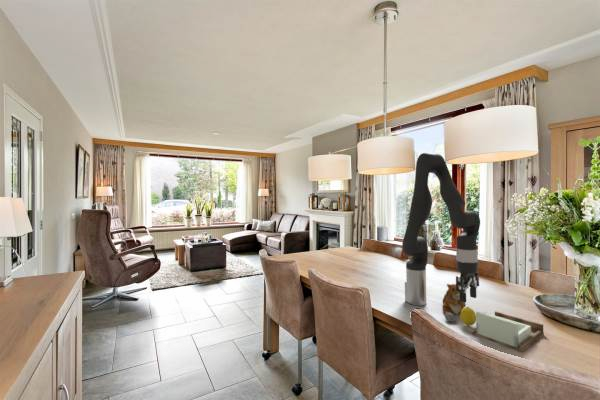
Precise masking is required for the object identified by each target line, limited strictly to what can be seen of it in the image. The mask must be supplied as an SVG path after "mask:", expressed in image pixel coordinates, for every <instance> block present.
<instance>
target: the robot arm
mask: <svg viewBox="0 0 600 400" xmlns="http://www.w3.org/2000/svg"><path fill="white" fill-rule="evenodd" d="M447 165H448V164H447V163H446V160H445V158H444V157H443V156H442V155H441V154H439V153H436V152H435V153H434V152H423V153H420V154H419V156H418V157H417V160H416V164H415V177H414V187H413V192H412V198H411V204H410V207H409V209H410V211H409V214H408V215H409V216H408V221H407V224H406V229H405V233H404V236H403V239H402V245H401V247H402V251H403V253H404V255H406V256H407V257H410V256H411V258H410V259H408V261H406V264H405V270H406V271H405V272H406V273H405V274H406V277H405V278H406V281H405V282H404V301H405V302H406V303H408V304H410V305H413V306H420V307H422V306H426V305H427V268H426V267H427V265H428V260H429V259H428V258H429V257H428V256H429V255H428V254H429V251H428V250H429V248H428V242H427V240H426V239H425V237H422V236H419V234H420V230H421V229H422V227H423V226H424V224H425V223H426V222H427V220H428V219H429V217H430V215H431V211H432V206H433V196H432V194H431V190H430V188H429V185H428V184H429V176H430V174H434V175H435V177H437V179H438V181H439V194H440V196H441V198H442V200H443V202H444V204H445V205H446V207H447V209H448V215H449V219H450V222H451V224H452V225H453V226H454V227H455V228H457V229H460V230H462V229H463V230H462V232H461V234H457V236H456V255H455V256H456V258H455V260H456V270H457V271H458V272H459V273H460V275H457V276H456V275H455V284H456V291H458V292H460V301H461V302H464V303H465V304H466V303H467V290H468V289H469V297H470V298H473V299H476V298H477V289H478V287H479V286H480V278H479V277H480V276H479V261H478V260H479V258H478V257H479V256H478V250H477V249H478V248H477V246H478V245H477V238H478V236H479V235H478V234H479V231H480V226H481V218H480V216H479V214H478V213H477V212H476V211H474V210H466V211H463V208H464V207H465V205H466V201H465V199H464V197H463V196H462V194H461V193H460V191H459V189H458V187H456V184H455V183H454V181H453V178H452V174H451V173H450V171H449V168H448V166H447Z"/></svg>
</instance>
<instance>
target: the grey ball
mask: <svg viewBox="0 0 600 400" xmlns="http://www.w3.org/2000/svg"><path fill="white" fill-rule="evenodd" d="M454 315H455V314H452V313H446V314H444V317H445V320H446V321H447V322H453V321H455V316H454Z"/></svg>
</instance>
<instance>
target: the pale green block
mask: <svg viewBox="0 0 600 400" xmlns="http://www.w3.org/2000/svg"><path fill="white" fill-rule="evenodd" d="M481 312H482V311H476V312H475V315H476V322H475V328H476V333H477V334H480V335H483V336H486V337H488V338H491V339H494V340H497V341H500V342H503V343H505V344H508V345H511V346H514V347H517V348H518V347H519V345H520V344H522V343H523V342H524V341H525V340H527V339H528V338H529V337H531V326H529V325H526V324H522V323H519V322H515V321H512V320H508V319H505V318H502V317H498V316H495V314H487V313H486V314H484V313H481Z"/></svg>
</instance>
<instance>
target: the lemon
mask: <svg viewBox="0 0 600 400" xmlns="http://www.w3.org/2000/svg"><path fill="white" fill-rule="evenodd" d="M459 317H460V321H461V322H462V324H464V325H466V326H467V327H470V326H473V325H475V324H476V312H475V311H474V309H472V308H470V307H469V306H465V307H464V308H463V309H462V310H461V313H460V314H459Z"/></svg>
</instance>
